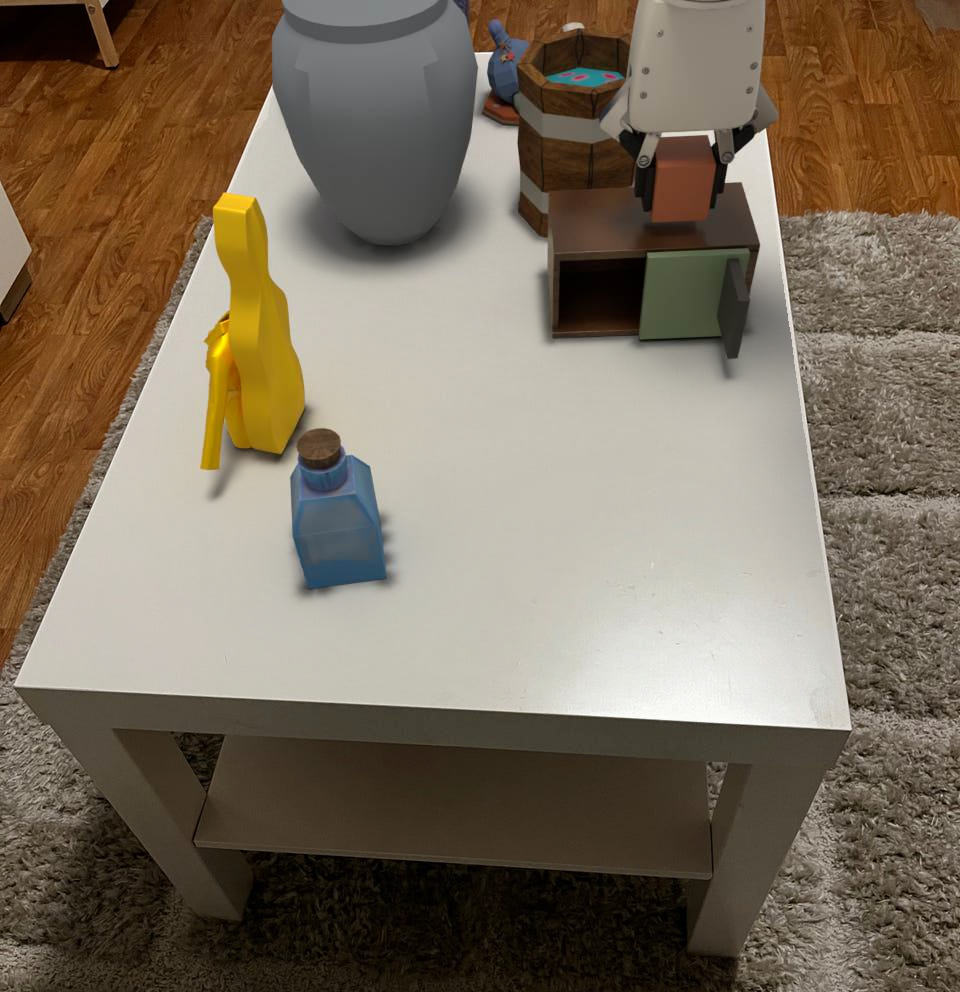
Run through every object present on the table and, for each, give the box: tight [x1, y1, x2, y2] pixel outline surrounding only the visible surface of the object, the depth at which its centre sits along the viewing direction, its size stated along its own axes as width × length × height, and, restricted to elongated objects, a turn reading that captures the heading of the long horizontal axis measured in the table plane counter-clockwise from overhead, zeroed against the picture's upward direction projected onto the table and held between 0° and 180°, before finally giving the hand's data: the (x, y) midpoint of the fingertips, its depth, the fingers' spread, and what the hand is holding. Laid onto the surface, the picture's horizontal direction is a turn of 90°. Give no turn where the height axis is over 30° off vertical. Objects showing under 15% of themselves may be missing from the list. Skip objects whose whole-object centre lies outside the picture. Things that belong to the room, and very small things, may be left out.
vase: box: [271, 0, 479, 246], centre depth 95 cm, size 20×20×24 cm
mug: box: [516, 21, 638, 238], centre depth 101 cm, size 20×14×15 cm
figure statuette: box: [199, 192, 306, 471], centre depth 78 cm, size 18×8×22 cm, turn 166°
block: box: [650, 134, 716, 222], centre depth 84 cm, size 5×5×5 cm
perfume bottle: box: [289, 427, 388, 590], centre depth 73 cm, size 6×6×12 cm
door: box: [638, 248, 751, 360], centre depth 86 cm, size 9×7×9 cm
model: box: [481, 18, 531, 127], centre depth 114 cm, size 12×9×9 cm
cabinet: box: [546, 181, 761, 339], centre depth 91 cm, size 18×10×9 cm, turn 90°
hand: (677, 199), depth 85 cm, fingers closed on block, 4 cm apart
